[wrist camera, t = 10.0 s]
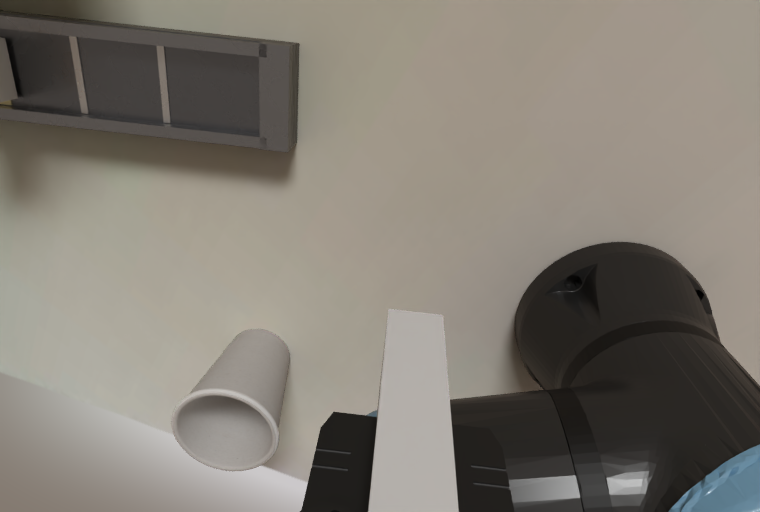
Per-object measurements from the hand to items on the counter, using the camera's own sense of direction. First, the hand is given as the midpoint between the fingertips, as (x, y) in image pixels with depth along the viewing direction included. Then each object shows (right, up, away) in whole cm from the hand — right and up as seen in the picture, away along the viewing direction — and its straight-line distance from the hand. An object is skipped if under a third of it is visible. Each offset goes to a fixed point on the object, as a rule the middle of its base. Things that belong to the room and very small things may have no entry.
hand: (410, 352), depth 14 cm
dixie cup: (-12, -6, +34) cm, 36 cm away
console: (-21, +16, +23) cm, 35 cm away
